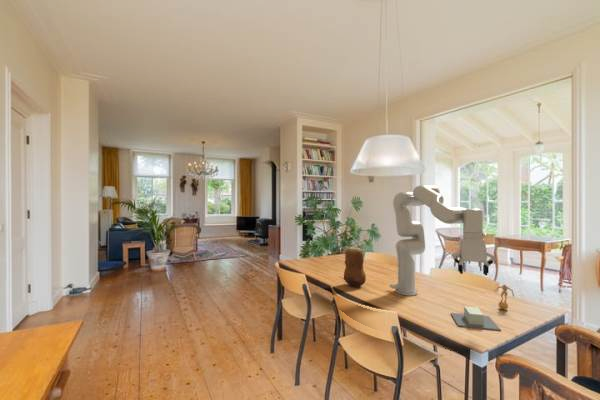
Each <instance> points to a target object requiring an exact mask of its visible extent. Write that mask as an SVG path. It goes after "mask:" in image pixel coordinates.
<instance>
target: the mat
mask: <svg viewBox="0 0 600 400" xmlns="http://www.w3.org/2000/svg"><path fill="white" fill-rule="evenodd" d="M450 316H451V317H452V319H453V321H454V322H455V324H456V325H457V327H458V328H460V327H461V328H467V329H468V328H469V329H470V328H471V329H476V330H477V329H478V330H479V329H480V330H487V331H495V332H497V331H498V332H501V331H502V329H501V328H500V327H499V326H498V325H497V324H496V322H495V321H494V320H493V319H492V318H491V317H490V316H489V315H484V325H475V324H469V322H468V321H467V319H466V318H465V316H464V313H459V312H458V313H457V312H450Z"/></svg>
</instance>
